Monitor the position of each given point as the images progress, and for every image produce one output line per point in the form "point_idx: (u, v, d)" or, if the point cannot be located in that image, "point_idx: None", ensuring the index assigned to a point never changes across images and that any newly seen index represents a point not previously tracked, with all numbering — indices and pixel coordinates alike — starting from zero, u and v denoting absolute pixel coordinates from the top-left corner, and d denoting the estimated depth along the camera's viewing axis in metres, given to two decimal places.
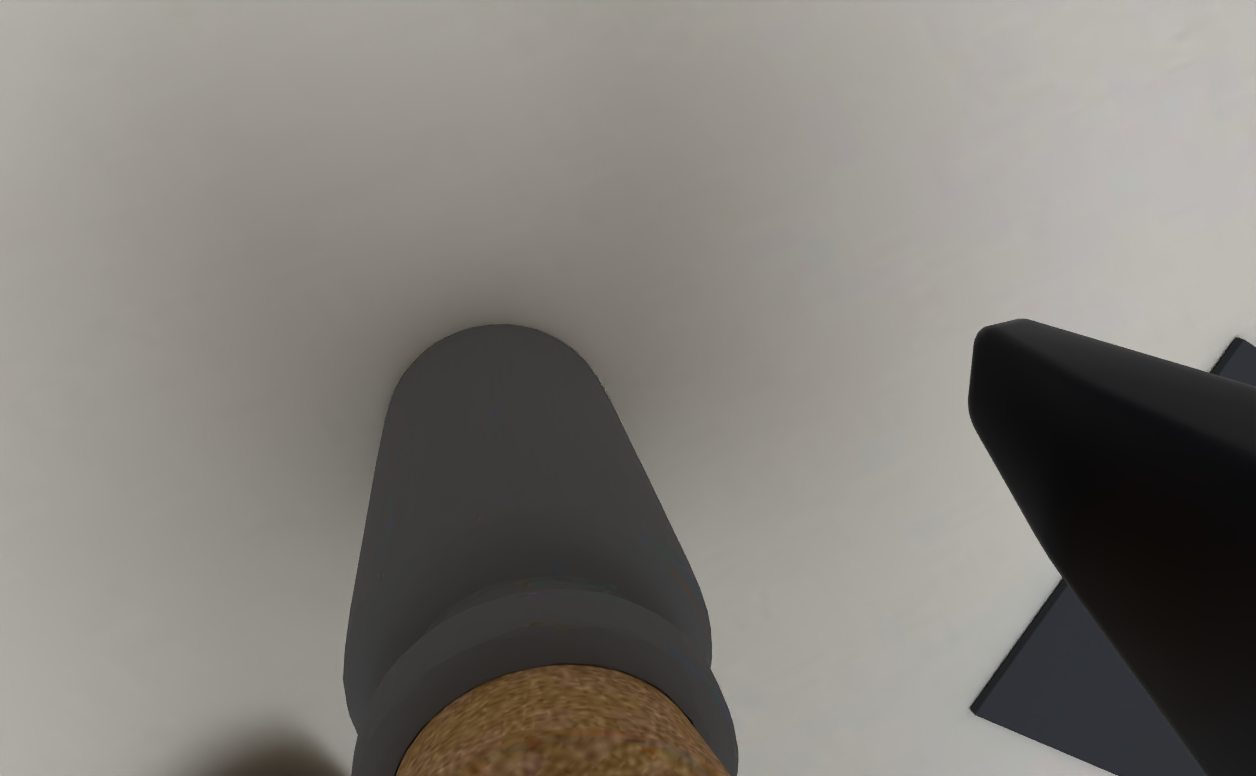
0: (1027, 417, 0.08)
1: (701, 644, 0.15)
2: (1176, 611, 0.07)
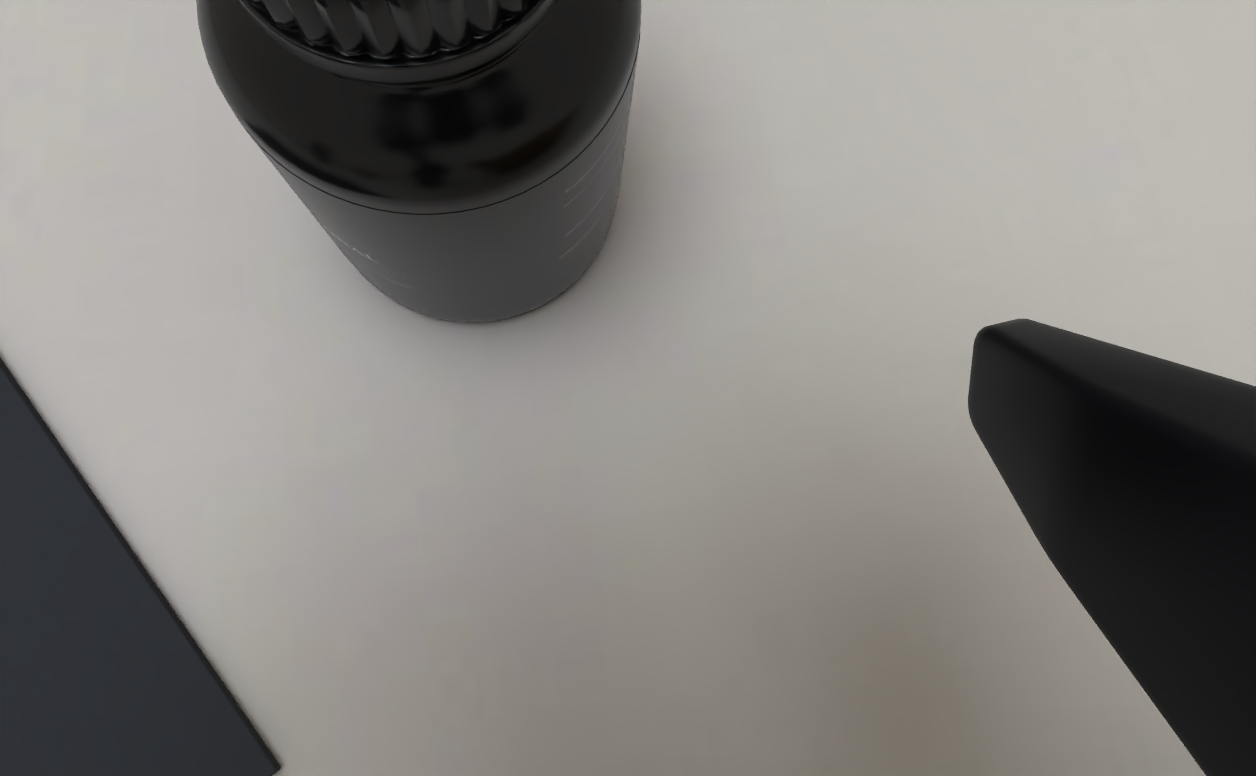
0: (1027, 417, 0.08)
1: None
2: (1176, 611, 0.07)
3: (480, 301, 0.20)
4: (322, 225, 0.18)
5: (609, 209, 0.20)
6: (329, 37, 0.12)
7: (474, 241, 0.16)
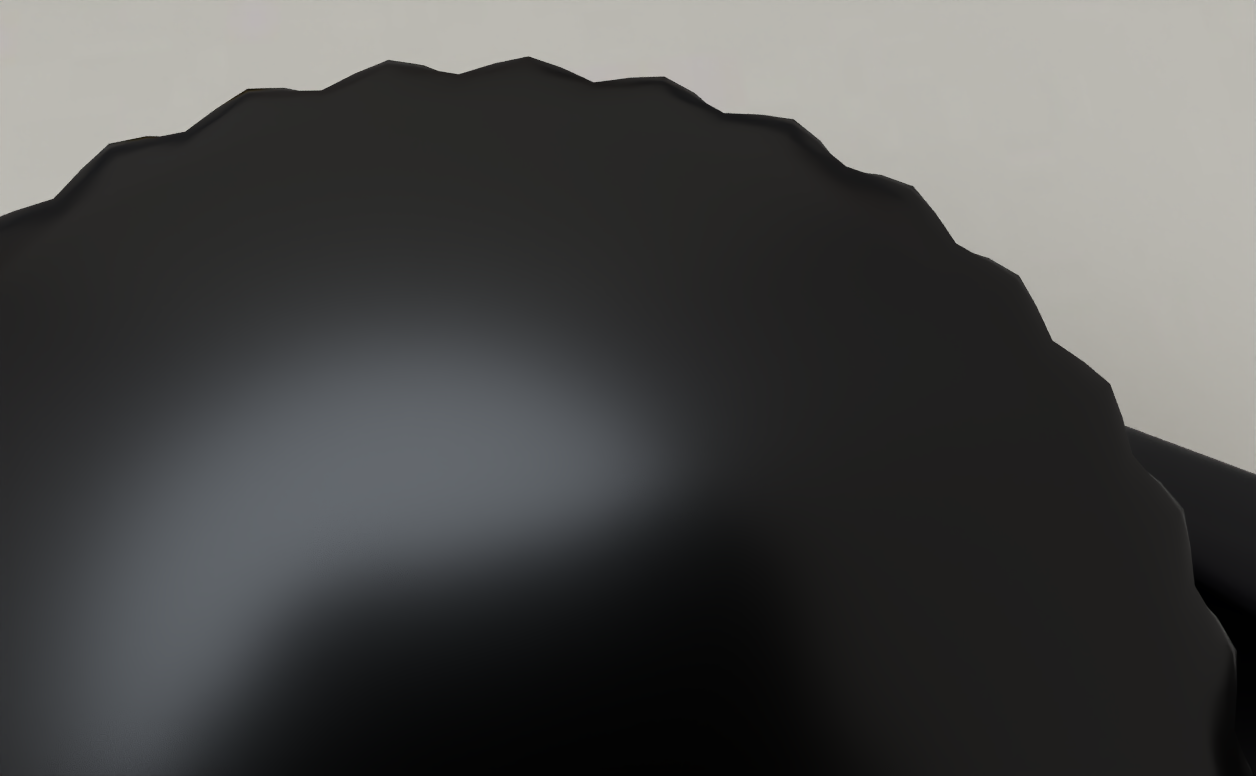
0: None
1: None
2: None
3: None
4: None
5: None
6: None
7: None
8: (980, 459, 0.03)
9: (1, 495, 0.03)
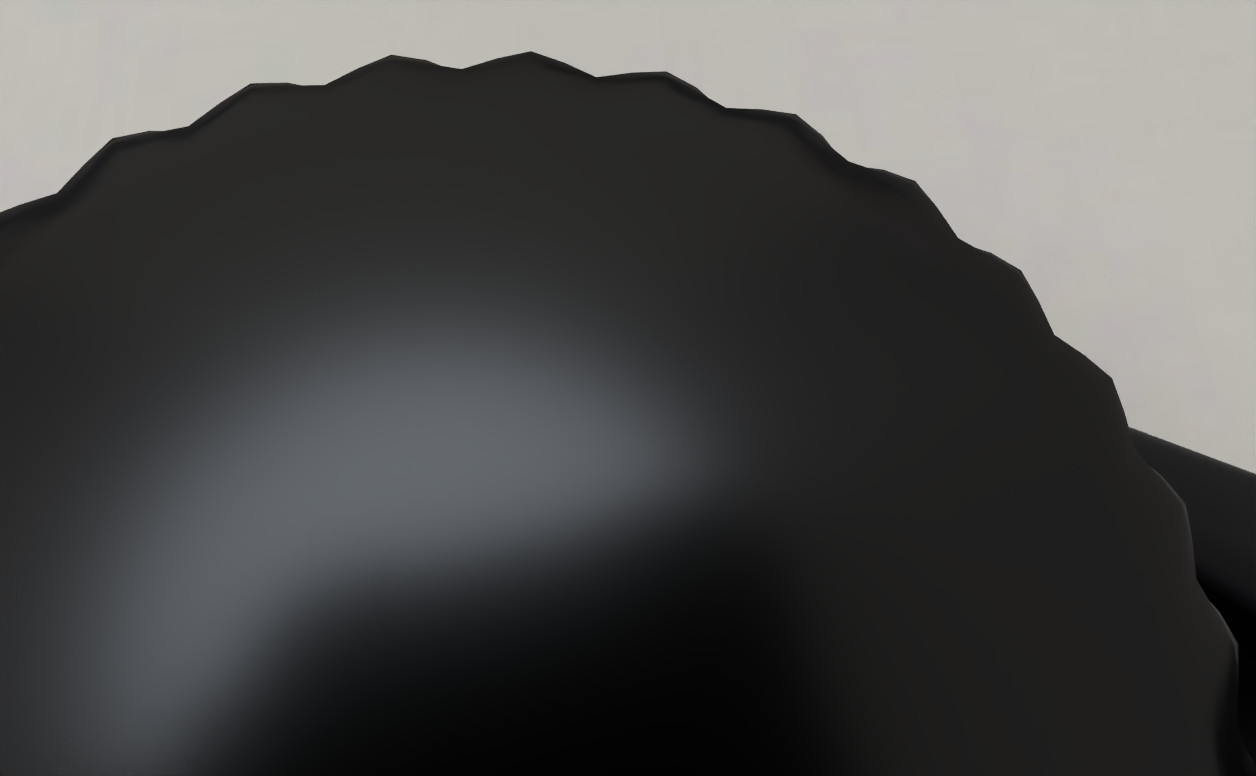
0: None
1: None
2: None
3: None
4: None
5: None
6: None
7: None
8: (982, 453, 0.03)
9: (5, 489, 0.03)
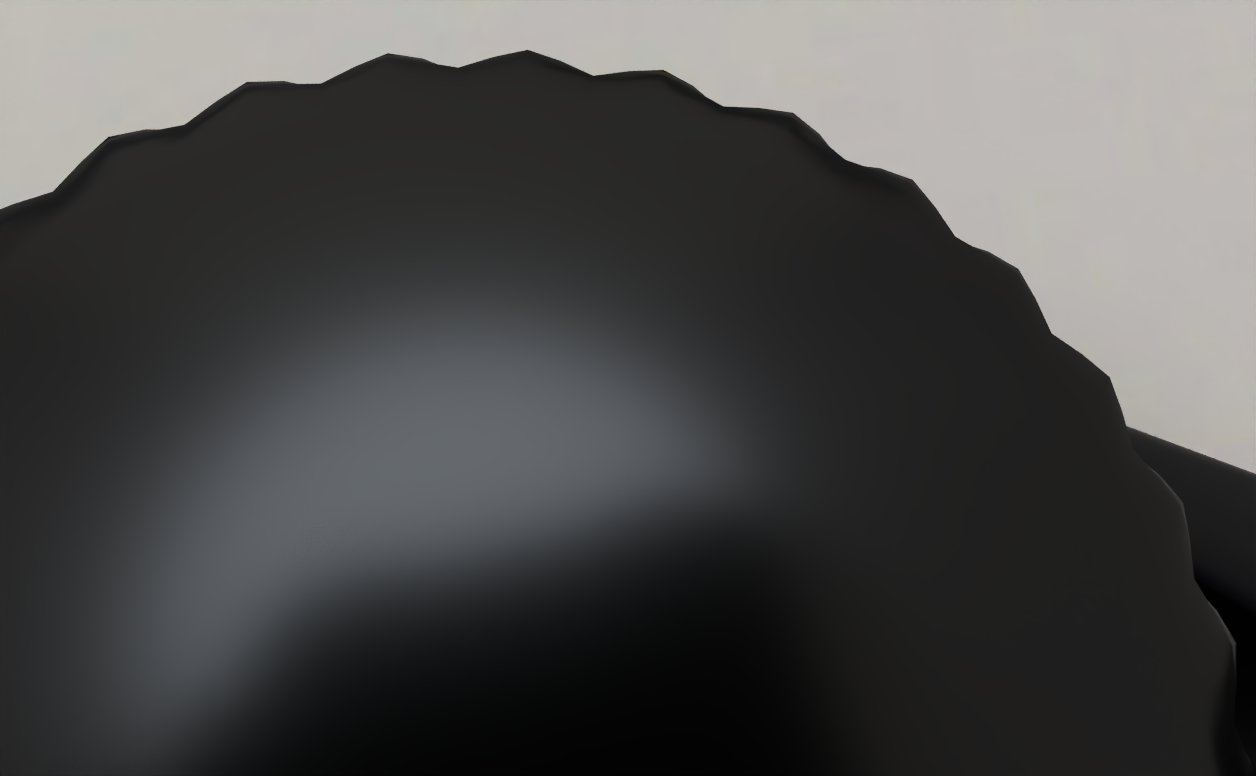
0: None
1: None
2: None
3: None
4: None
5: None
6: None
7: None
8: (980, 452, 0.03)
9: (1, 487, 0.03)
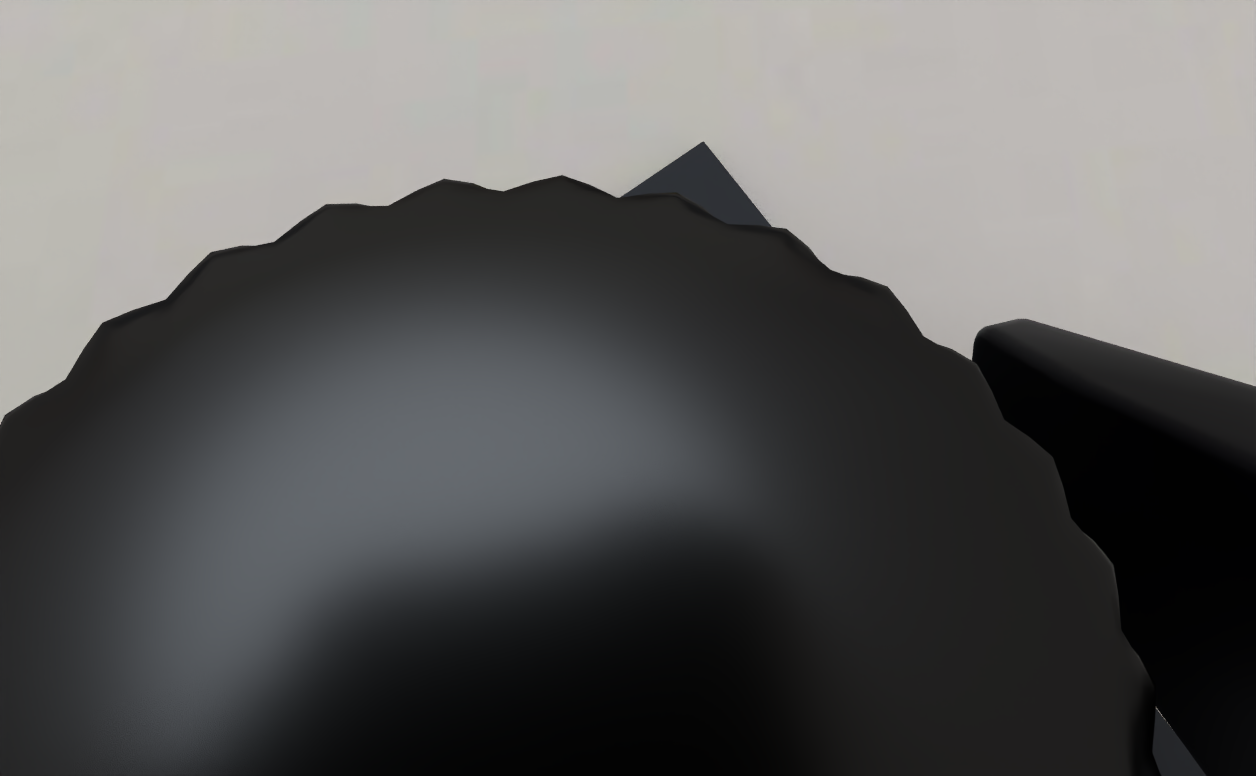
0: (1027, 417, 0.08)
1: None
2: (1176, 611, 0.07)
3: None
4: None
5: None
6: None
7: None
8: (943, 521, 0.04)
9: (129, 551, 0.03)
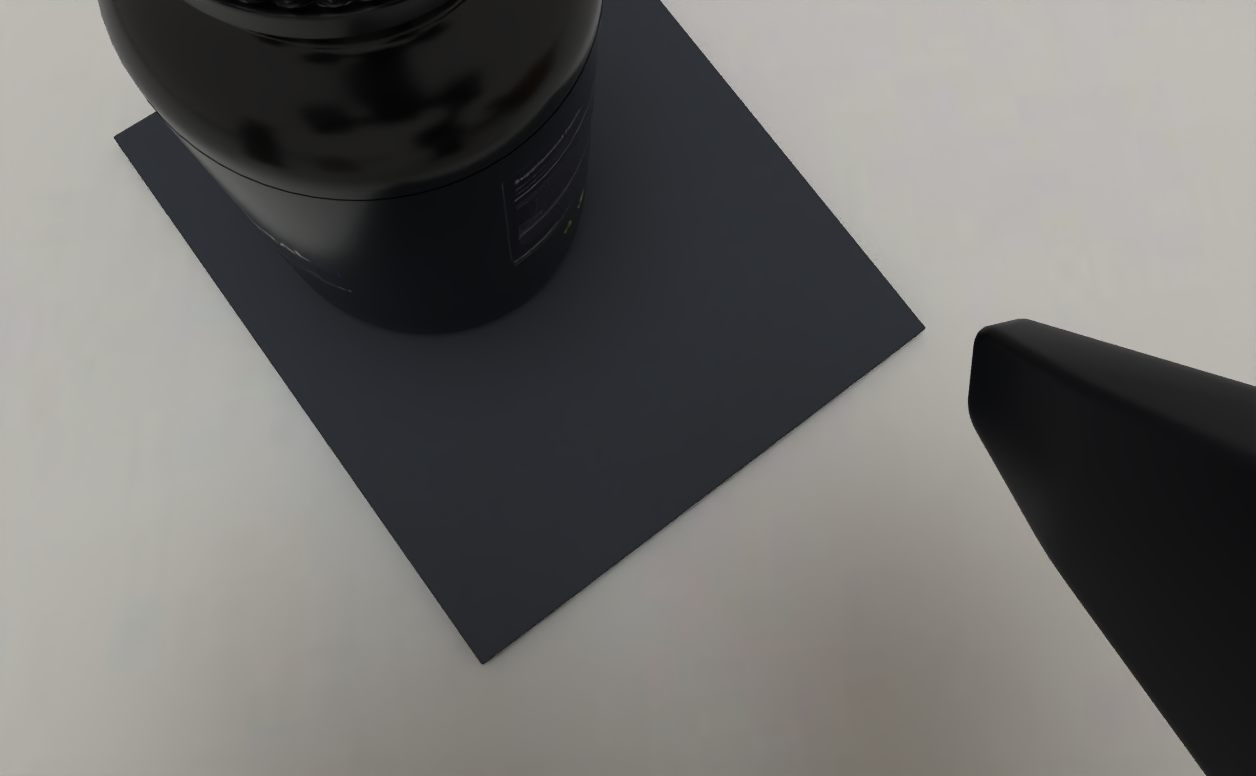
0: (1027, 417, 0.08)
1: None
2: (1176, 611, 0.07)
3: (428, 308, 0.18)
4: (248, 217, 0.16)
5: (572, 211, 0.18)
6: None
7: (411, 236, 0.14)
8: None
9: None
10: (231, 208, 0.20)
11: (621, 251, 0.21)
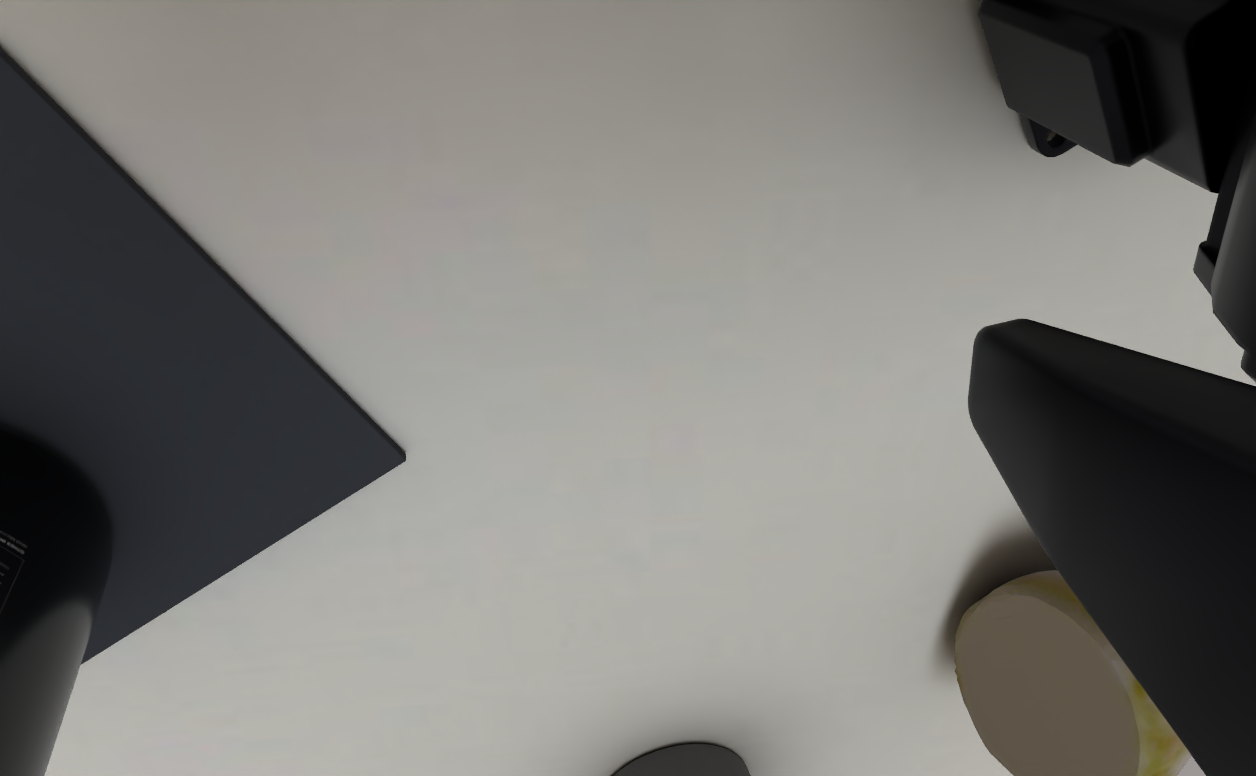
0: (1027, 417, 0.08)
1: None
2: (1176, 611, 0.07)
3: (88, 578, 0.20)
4: None
5: None
6: None
7: (30, 716, 0.17)
8: None
9: None
10: None
11: None
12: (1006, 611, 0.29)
